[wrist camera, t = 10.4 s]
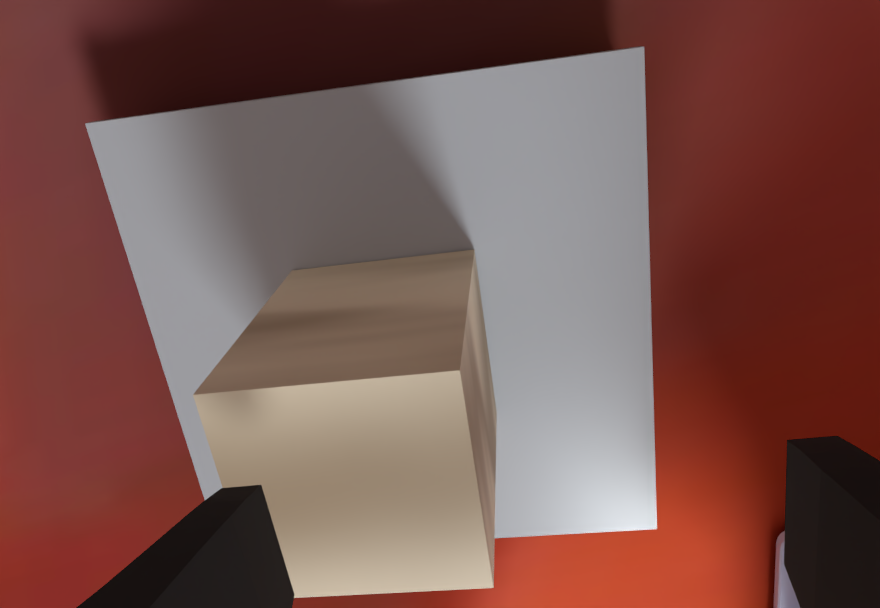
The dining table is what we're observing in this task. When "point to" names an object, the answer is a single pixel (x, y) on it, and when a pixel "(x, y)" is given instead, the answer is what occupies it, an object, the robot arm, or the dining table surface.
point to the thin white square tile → (426, 249)
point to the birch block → (366, 425)
